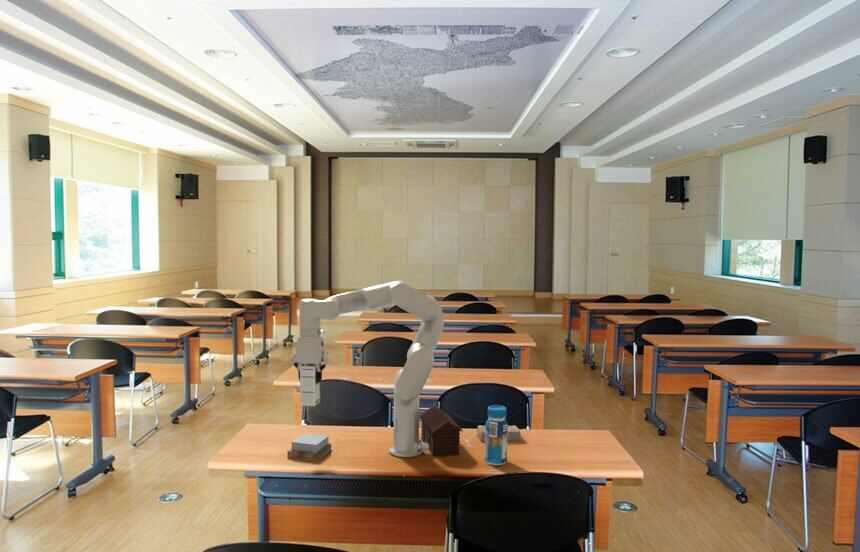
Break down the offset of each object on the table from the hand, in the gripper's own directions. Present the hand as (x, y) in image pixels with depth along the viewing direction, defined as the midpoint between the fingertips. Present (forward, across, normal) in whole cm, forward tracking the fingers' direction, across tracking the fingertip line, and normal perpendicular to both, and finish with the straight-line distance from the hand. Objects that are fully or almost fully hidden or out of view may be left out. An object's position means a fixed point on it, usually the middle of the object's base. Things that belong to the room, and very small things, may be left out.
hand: (310, 380), depth 226 cm
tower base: (+28, 0, 0) cm, 28 cm away
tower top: (+25, 0, 0) cm, 25 cm away
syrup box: (+9, 0, 0) cm, 9 cm away
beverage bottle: (+28, -68, -10) cm, 74 cm away
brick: (+28, -66, -35) cm, 80 cm away
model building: (+28, -45, -20) cm, 56 cm away
